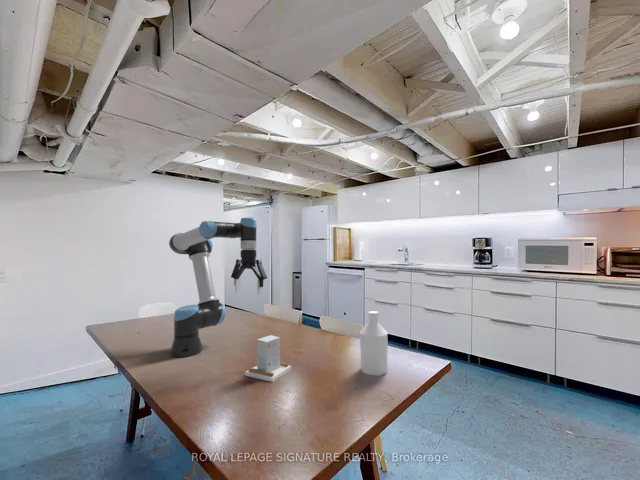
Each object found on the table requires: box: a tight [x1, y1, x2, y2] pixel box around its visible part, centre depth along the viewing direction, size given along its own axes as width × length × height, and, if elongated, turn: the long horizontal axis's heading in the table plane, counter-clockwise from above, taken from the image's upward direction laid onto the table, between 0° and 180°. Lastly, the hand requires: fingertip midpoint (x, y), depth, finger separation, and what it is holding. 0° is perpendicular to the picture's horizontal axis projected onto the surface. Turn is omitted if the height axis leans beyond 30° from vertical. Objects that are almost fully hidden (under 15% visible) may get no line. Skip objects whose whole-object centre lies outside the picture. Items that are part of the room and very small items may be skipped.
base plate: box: [244, 361, 292, 383], centre depth 127 cm, size 14×14×3 cm
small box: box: [256, 334, 281, 372], centre depth 128 cm, size 8×6×13 cm
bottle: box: [359, 310, 389, 376], centre depth 129 cm, size 12×12×25 cm
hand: (248, 293), depth 144 cm, fingers open, 13 cm apart
